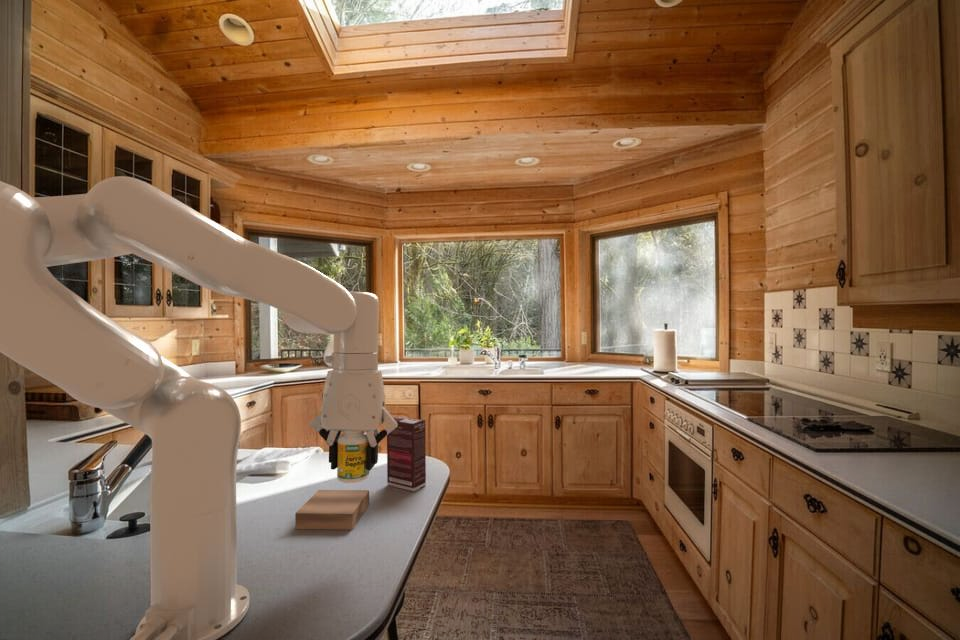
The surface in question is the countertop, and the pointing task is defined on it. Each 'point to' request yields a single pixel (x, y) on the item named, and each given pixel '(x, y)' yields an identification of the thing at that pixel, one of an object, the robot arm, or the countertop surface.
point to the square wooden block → (332, 509)
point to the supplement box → (407, 454)
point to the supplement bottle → (352, 457)
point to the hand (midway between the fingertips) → (353, 466)
